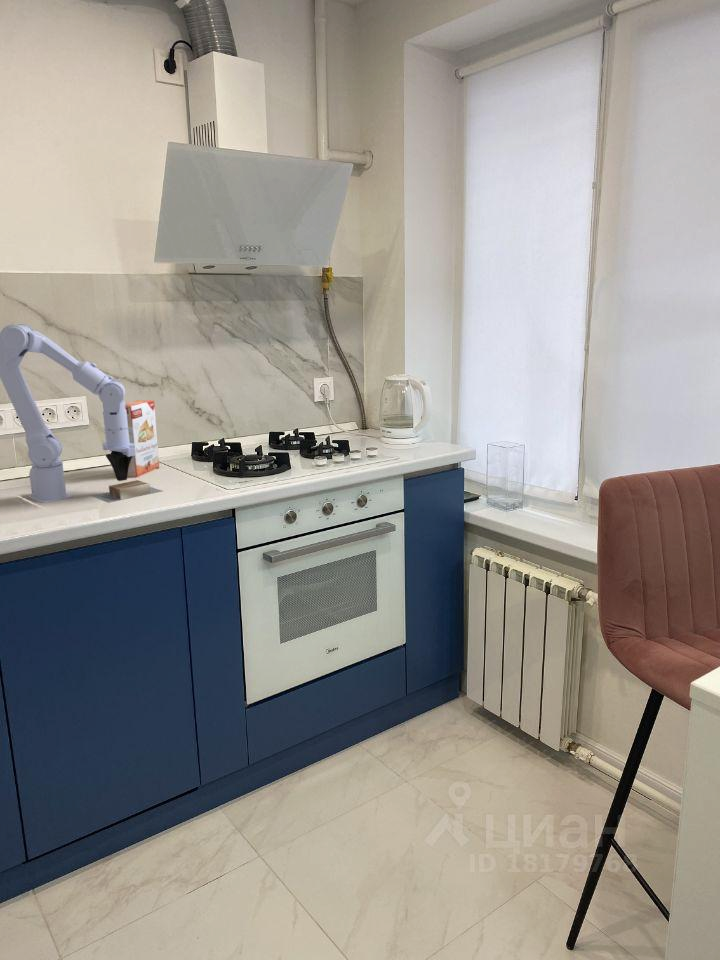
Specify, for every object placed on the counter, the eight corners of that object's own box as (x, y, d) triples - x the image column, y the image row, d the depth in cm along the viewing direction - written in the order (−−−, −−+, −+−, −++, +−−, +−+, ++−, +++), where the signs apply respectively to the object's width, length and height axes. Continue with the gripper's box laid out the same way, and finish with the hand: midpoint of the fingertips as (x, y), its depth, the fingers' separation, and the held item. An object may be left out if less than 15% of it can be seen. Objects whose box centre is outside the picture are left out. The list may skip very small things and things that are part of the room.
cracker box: (138, 478, 205) (131, 405, 200) (119, 478, 207) (111, 405, 202) (161, 468, 219) (154, 399, 214) (143, 467, 220) (136, 399, 215)
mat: (91, 497, 186) (91, 495, 185) (145, 486, 196) (145, 485, 195) (108, 504, 178) (108, 502, 178) (163, 492, 189) (163, 491, 188)
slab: (108, 485, 185) (120, 489, 180) (137, 480, 190) (149, 483, 186) (109, 495, 186) (121, 499, 181) (138, 489, 191) (150, 493, 186)
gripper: (144, 429, 182) (149, 481, 186) (118, 423, 193) (123, 473, 196) (118, 433, 178) (123, 486, 181) (92, 427, 188) (98, 478, 191)
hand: (122, 480), depth 188 cm, fingers closed
